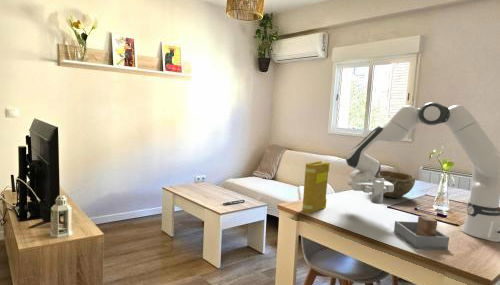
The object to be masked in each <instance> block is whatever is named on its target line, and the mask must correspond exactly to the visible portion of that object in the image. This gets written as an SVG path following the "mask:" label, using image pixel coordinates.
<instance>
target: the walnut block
mask: <svg viewBox="0 0 500 285" xmlns="http://www.w3.org/2000/svg"><path fill="white" fill-rule="evenodd" d="M417 222H418V225H417V234H416V235H417V236H435V235H436V230H437V226H438V220H437V219H435V218H434V217H432V216H423V215H421V216H420V215H419V216H418V218H417Z"/></svg>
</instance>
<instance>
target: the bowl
mask: <svg viewBox="0 0 500 285" xmlns="http://www.w3.org/2000/svg"><path fill="white" fill-rule="evenodd" d="M377 177H378V178H384V179H385V181H388V182H390V183H392V184H393V185H394V191H393V192H383V197H387V198H392V199H398V198H401V197H403V196H405V195H407V194H408V193H410V192H411V191H412V190H413V188H414V186H415V183H416V177H415V176H414V175H413V174H408V173H404V172H399V171H392V170H380V173H379V174H378V176H377Z"/></svg>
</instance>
